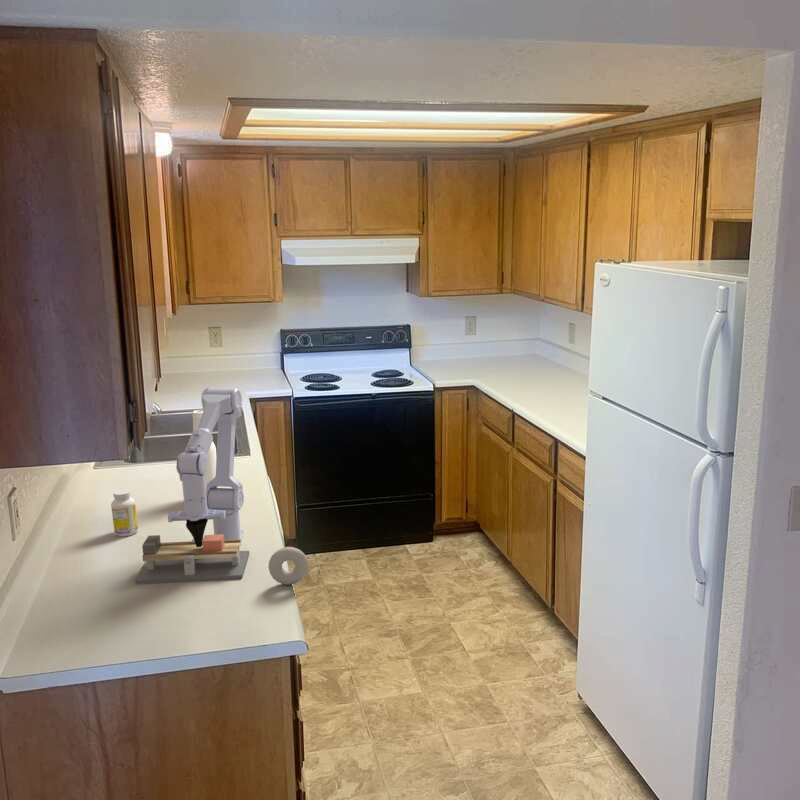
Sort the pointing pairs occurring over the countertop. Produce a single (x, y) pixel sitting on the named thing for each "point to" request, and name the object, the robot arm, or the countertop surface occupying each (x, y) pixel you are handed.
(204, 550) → the block
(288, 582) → the donut
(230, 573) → the tilt stand
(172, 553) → the beam
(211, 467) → the alcohol
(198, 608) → the countertop surface
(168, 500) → the countertop surface
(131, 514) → the supplement bottle
